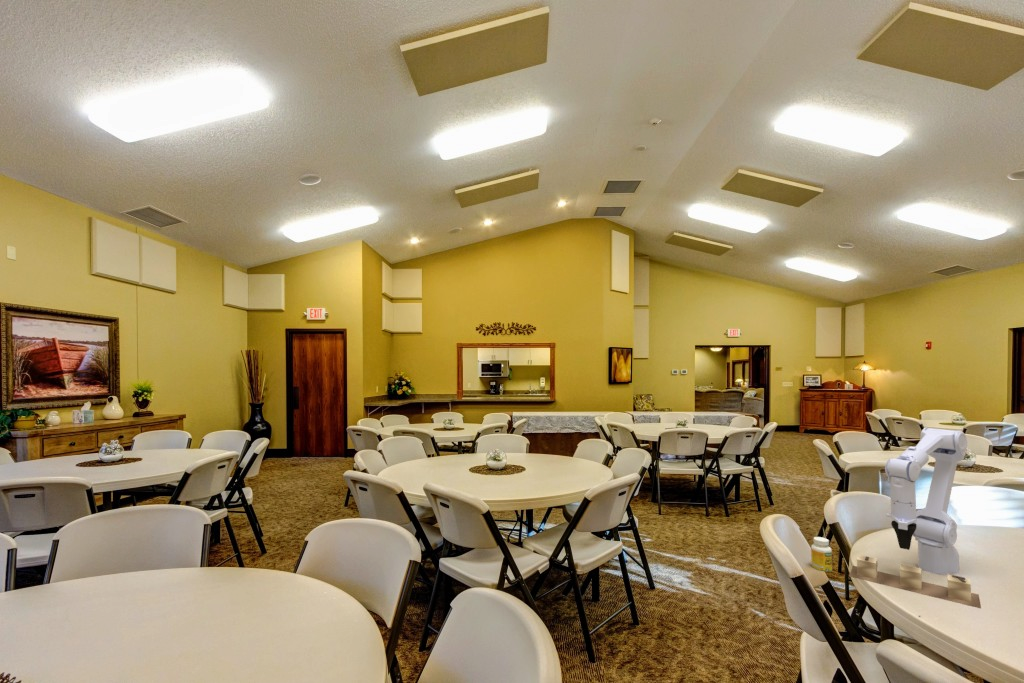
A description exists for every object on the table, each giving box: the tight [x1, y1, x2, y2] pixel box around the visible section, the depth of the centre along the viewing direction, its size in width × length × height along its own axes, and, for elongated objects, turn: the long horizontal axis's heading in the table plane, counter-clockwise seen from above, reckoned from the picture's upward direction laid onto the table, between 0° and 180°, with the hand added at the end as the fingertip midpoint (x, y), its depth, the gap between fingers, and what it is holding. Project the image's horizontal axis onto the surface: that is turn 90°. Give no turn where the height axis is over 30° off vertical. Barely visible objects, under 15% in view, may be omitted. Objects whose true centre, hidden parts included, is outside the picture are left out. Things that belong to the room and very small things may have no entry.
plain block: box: [899, 563, 923, 590], centre depth 137 cm, size 4×4×4 cm
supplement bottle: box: [810, 536, 833, 572], centre depth 148 cm, size 5×5×10 cm
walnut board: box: [848, 565, 982, 609], centre depth 137 cm, size 28×10×1 cm, turn 49°
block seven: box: [946, 574, 972, 602], centre depth 130 cm, size 4×4×5 cm
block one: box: [856, 554, 878, 579], centre depth 143 cm, size 4×4×5 cm
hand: (904, 548), depth 141 cm, fingers closed
